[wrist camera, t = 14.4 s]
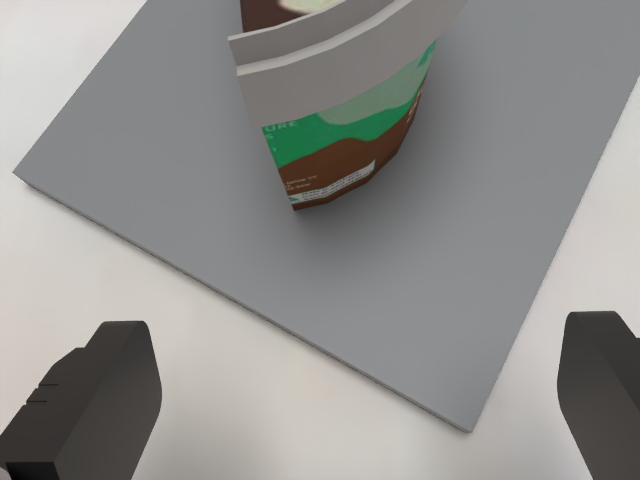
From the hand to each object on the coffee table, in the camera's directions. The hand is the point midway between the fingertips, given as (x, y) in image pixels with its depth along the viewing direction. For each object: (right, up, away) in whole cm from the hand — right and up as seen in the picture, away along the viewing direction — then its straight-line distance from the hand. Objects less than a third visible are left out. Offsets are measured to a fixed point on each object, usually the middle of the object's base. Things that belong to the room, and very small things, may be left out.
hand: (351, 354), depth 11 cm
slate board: (+1, +8, +11) cm, 13 cm away
